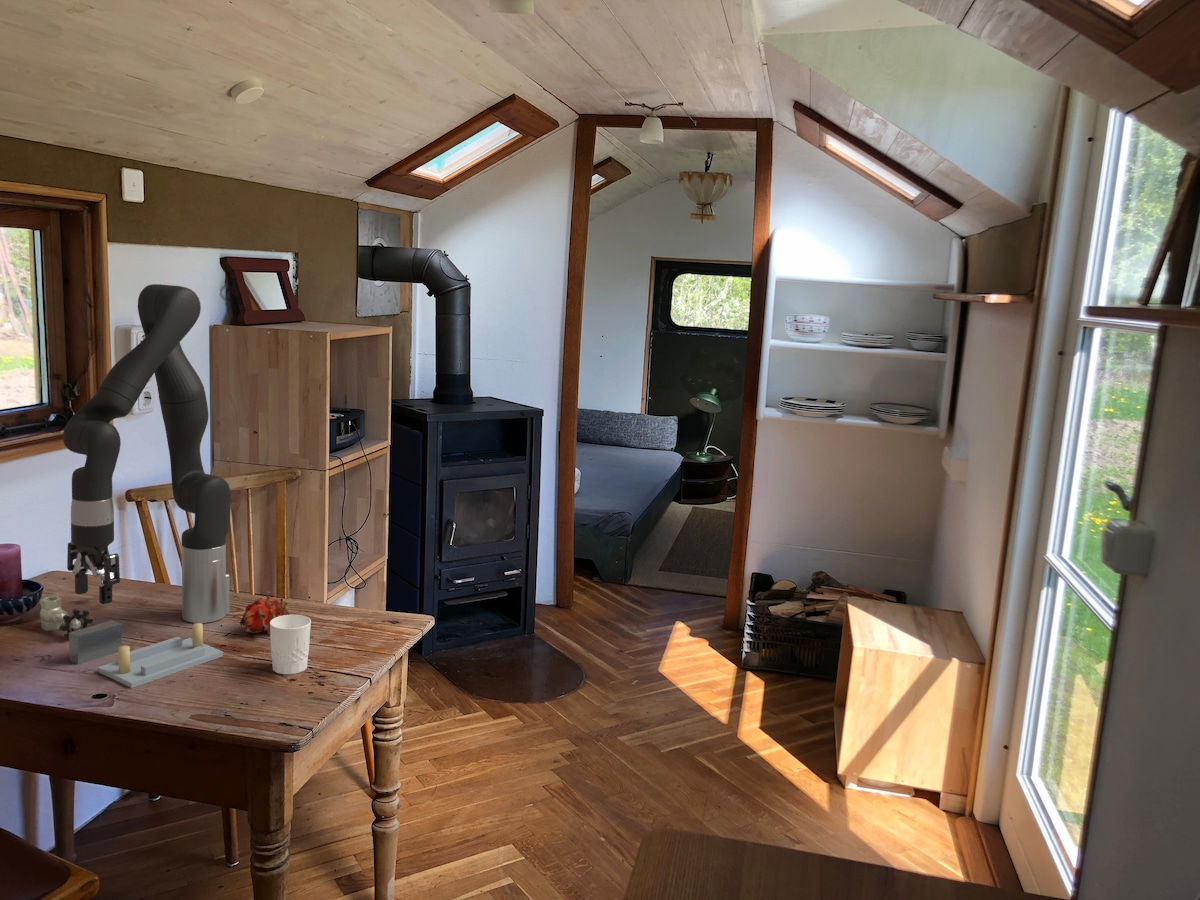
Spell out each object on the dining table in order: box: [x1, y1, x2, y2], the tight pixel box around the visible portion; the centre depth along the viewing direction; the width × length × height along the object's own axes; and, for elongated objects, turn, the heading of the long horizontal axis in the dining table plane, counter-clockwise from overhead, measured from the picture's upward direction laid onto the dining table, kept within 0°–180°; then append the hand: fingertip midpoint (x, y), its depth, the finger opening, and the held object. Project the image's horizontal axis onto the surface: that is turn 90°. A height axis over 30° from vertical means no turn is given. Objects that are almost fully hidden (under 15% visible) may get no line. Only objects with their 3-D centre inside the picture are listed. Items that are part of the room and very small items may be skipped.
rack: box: [97, 623, 224, 689], centre depth 188 cm, size 20×11×6 cm, turn 148°
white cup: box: [269, 614, 312, 675], centre depth 190 cm, size 8×8×10 cm
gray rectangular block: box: [68, 620, 123, 665], centre depth 189 cm, size 9×3×6 cm, turn 148°
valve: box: [39, 595, 94, 640], centre depth 200 cm, size 7×7×12 cm
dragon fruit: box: [239, 595, 290, 635], centre depth 208 cm, size 8×8×12 cm
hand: (93, 598), depth 188 cm, fingers open, 8 cm apart
